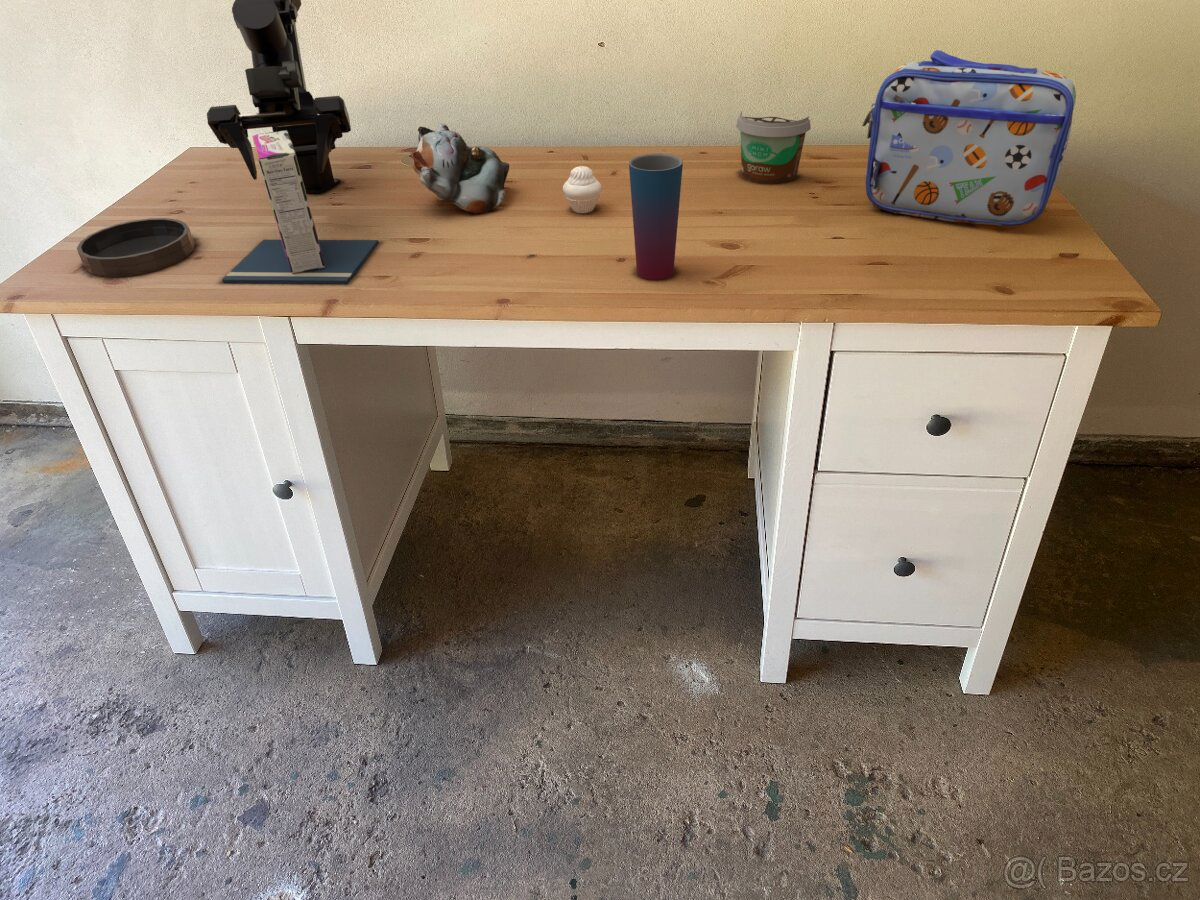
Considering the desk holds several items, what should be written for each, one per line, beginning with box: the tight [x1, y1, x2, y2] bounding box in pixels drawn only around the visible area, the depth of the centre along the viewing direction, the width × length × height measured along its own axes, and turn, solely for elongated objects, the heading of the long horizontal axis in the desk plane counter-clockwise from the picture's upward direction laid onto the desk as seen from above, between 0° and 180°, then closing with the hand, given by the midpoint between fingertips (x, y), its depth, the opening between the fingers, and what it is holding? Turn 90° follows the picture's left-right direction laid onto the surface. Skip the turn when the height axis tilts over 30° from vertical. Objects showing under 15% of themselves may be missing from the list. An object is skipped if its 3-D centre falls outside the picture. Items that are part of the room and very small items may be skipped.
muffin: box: [562, 165, 603, 214], centre depth 131 cm, size 6×6×7 cm
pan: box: [76, 217, 195, 278], centre depth 124 cm, size 15×15×3 cm
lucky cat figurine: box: [410, 123, 510, 215], centre depth 134 cm, size 15×12×14 cm
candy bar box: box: [252, 130, 325, 274], centre depth 116 cm, size 11×5×16 cm, turn 22°
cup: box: [628, 152, 684, 281], centre depth 109 cm, size 7×7×15 cm
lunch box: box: [861, 49, 1077, 227], centre depth 120 cm, size 28×10×22 cm, turn 62°
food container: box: [735, 110, 812, 185], centre depth 138 cm, size 12×6×10 cm, turn 68°
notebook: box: [221, 239, 379, 285], centre depth 120 cm, size 18×14×1 cm
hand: (287, 175), depth 118 cm, fingers open, 9 cm apart
